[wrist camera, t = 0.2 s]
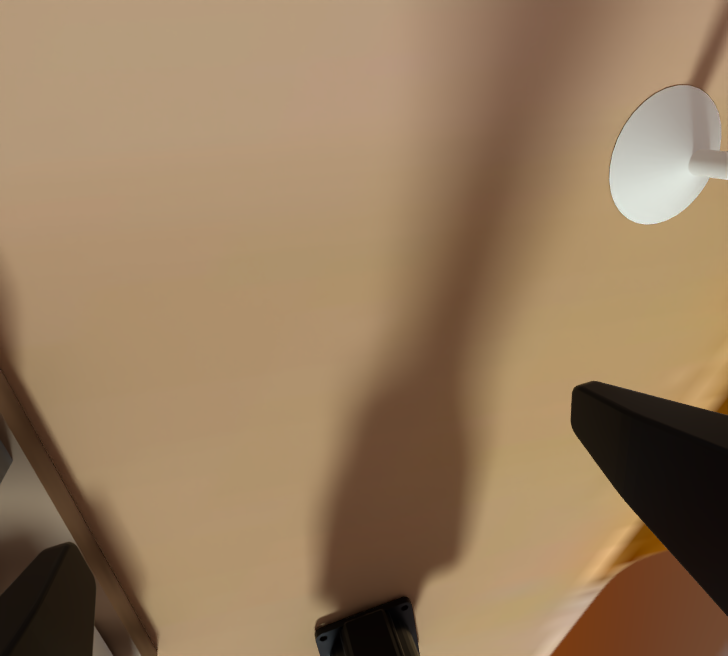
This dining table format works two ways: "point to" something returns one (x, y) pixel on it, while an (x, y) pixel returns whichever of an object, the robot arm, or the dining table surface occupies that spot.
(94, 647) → the carriage
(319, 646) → the robot arm
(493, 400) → the dining table surface
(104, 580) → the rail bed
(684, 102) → the champagne flute
